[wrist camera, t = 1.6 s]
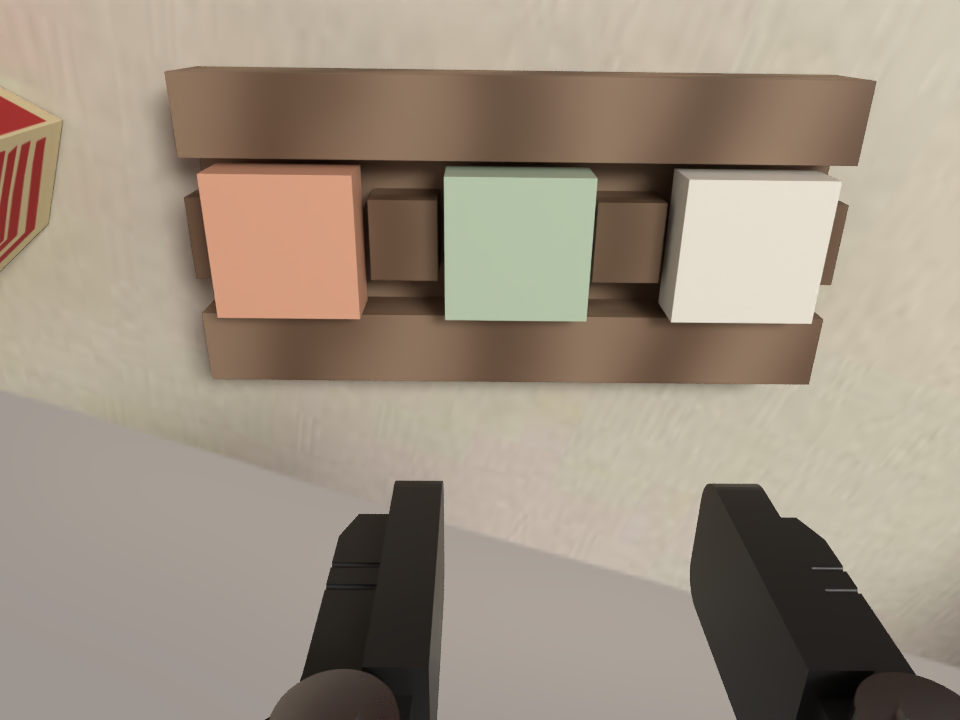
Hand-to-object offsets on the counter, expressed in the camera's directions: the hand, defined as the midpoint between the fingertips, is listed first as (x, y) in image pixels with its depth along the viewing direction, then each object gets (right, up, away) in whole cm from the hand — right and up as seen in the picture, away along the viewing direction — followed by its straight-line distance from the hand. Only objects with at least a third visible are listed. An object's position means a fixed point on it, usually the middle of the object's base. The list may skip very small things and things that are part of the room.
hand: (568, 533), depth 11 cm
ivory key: (+8, +7, +16) cm, 19 cm away
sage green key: (0, +7, +15) cm, 17 cm away
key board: (0, +8, +17) cm, 19 cm away
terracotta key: (-8, +7, +15) cm, 19 cm away
